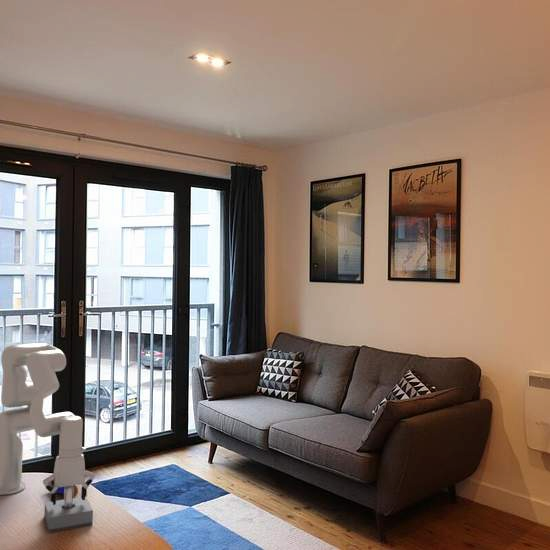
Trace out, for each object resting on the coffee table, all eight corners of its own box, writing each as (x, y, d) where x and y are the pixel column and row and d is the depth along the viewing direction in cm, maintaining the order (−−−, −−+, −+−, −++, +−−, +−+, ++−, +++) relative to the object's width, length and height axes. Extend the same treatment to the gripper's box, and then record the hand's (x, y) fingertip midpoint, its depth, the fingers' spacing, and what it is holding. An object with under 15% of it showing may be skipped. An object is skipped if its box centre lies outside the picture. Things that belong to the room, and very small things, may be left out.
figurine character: (45, 495, 218) (66, 501, 208) (45, 475, 218) (66, 480, 209) (61, 491, 223) (82, 496, 214) (61, 471, 224) (82, 476, 214)
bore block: (44, 516, 195) (44, 502, 195) (85, 509, 202) (85, 496, 202) (49, 532, 183) (49, 517, 183) (92, 524, 189) (92, 510, 189)
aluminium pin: (62, 516, 193) (64, 485, 193) (71, 515, 194) (73, 484, 195) (64, 520, 190) (65, 488, 190) (73, 518, 192) (74, 486, 192)
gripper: (93, 446, 200) (92, 493, 200) (42, 452, 192) (40, 501, 191) (97, 452, 193) (96, 501, 193) (45, 458, 185) (43, 509, 185)
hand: (68, 501), depth 192 cm, fingers open, 9 cm apart
